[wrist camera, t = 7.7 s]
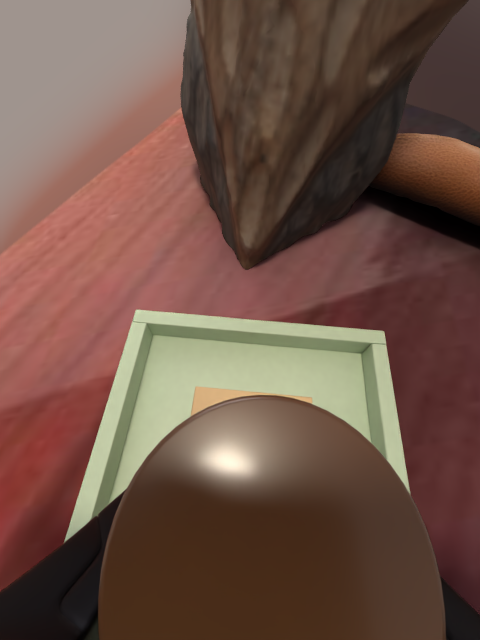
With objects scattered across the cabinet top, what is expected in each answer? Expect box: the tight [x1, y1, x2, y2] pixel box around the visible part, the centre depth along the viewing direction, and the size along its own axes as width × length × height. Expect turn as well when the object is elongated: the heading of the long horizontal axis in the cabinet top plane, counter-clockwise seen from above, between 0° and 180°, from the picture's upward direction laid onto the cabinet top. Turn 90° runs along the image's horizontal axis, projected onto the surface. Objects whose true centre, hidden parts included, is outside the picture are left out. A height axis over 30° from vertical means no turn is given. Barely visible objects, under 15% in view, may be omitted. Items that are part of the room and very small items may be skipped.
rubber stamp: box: [98, 386, 446, 640], centre depth 8 cm, size 8×5×12 cm, turn 175°
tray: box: [64, 310, 410, 543], centre depth 11 cm, size 26×14×2 cm, turn 175°
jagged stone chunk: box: [181, 0, 468, 269], centre depth 16 cm, size 13×13×20 cm
